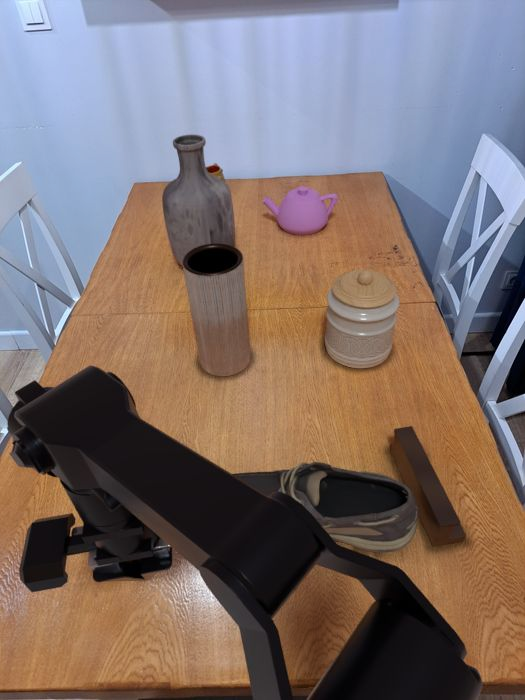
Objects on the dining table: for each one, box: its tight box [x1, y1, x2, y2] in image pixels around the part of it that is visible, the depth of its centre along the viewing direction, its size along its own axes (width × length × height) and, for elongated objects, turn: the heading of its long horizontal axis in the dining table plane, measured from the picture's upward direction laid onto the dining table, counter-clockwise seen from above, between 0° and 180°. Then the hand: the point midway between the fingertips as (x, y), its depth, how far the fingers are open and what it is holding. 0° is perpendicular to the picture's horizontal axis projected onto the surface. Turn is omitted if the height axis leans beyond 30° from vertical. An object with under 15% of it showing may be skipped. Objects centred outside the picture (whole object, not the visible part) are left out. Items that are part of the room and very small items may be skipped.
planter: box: [182, 243, 252, 377], centre depth 88 cm, size 10×10×23 cm
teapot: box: [262, 185, 339, 236], centre depth 131 cm, size 14×20×11 cm
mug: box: [206, 162, 226, 182], centre depth 154 cm, size 12×7×7 cm, turn 173°
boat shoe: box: [232, 461, 419, 553], centre depth 67 cm, size 11×29×11 cm, turn 86°
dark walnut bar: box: [390, 425, 467, 548], centre depth 70 cm, size 16×5×6 cm, turn 9°
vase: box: [161, 134, 236, 267], centre depth 112 cm, size 16×16×30 cm
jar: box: [324, 268, 401, 369], centre depth 90 cm, size 13×13×18 cm
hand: (147, 575), depth 52 cm, fingers closed
